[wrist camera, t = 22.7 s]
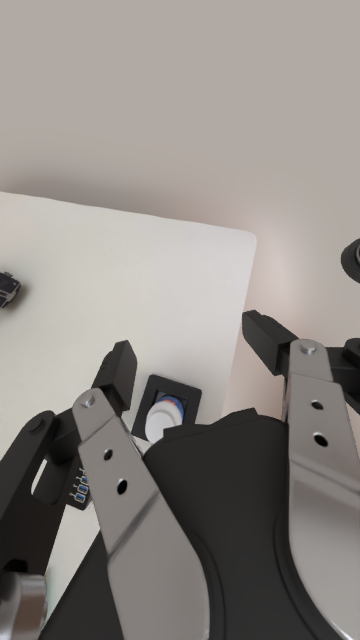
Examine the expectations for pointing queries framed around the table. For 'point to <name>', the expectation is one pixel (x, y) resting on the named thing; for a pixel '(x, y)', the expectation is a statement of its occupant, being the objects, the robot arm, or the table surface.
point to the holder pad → (170, 388)
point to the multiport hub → (79, 490)
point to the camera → (7, 288)
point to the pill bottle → (163, 417)
